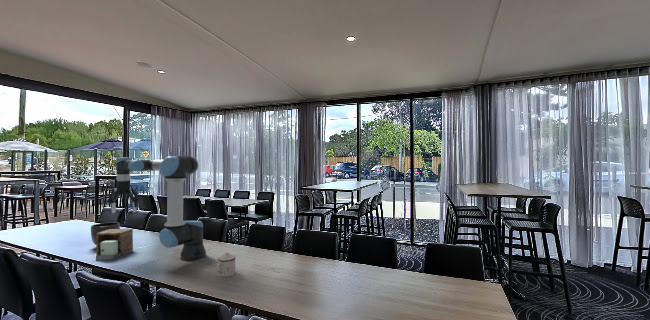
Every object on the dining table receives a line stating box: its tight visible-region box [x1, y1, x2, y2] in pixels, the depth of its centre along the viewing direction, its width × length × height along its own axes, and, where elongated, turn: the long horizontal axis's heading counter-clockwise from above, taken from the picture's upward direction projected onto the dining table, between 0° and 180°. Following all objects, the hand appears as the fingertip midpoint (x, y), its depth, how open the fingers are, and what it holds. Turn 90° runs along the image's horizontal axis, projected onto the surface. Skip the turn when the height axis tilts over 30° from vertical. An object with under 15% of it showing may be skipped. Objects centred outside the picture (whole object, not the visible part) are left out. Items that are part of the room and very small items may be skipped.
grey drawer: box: [95, 237, 124, 262], centre depth 191 cm, size 11×9×12 cm
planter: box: [90, 221, 121, 246], centre depth 218 cm, size 17×17×16 cm
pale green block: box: [101, 241, 118, 256], centre depth 190 cm, size 8×5×11 cm, turn 90°
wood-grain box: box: [95, 228, 134, 256], centre depth 201 cm, size 16×12×15 cm
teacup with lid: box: [215, 251, 236, 278], centre depth 161 cm, size 12×9×12 cm
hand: (124, 212), depth 198 cm, fingers open, 13 cm apart
